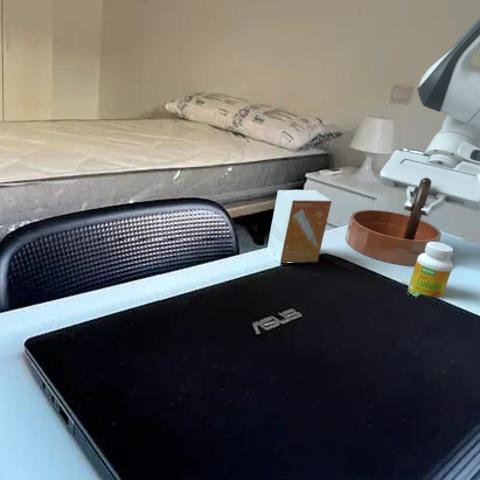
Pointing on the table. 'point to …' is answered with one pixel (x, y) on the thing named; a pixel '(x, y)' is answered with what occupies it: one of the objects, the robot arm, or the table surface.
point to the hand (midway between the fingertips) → (416, 211)
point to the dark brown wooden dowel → (417, 209)
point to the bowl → (388, 236)
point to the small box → (298, 225)
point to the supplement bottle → (431, 270)
